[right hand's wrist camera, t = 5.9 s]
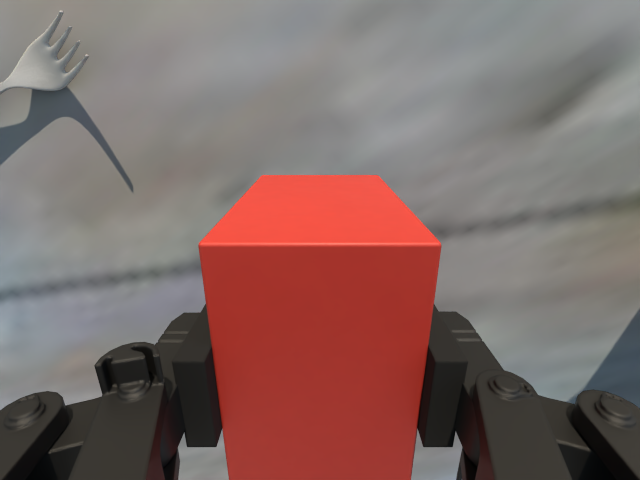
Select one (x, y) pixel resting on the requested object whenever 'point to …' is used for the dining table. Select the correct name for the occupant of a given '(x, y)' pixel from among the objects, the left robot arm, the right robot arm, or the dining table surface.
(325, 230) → the brick
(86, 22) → the dining table surface
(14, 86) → the fork
